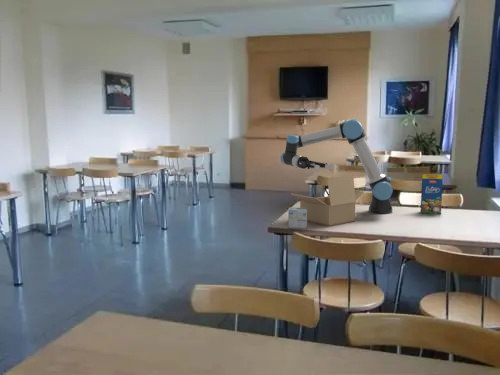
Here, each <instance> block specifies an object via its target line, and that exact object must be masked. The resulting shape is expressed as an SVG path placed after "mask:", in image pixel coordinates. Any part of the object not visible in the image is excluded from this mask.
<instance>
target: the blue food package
mask: <svg viewBox="0 0 500 375" xmlns="http://www.w3.org/2000/svg"><path fill="white" fill-rule="evenodd" d="M421 180H422V181H421V193H420V194H421V196H420V213H421V214H430V215H431V214H432V215H442V204H443V203H442V200H443V174H427V173H426V174H424V173H423V174H422V178H421Z"/></svg>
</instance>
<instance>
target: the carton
mask: <svg viewBox="0 0 500 375" xmlns="http://www.w3.org/2000/svg"><path fill="white" fill-rule="evenodd" d="M364 193H365V191H363V190H357V189H356V190H355V197H356V201H357V200H358V199H359V198H360V197H361V196H363V194H364ZM290 195H291V196H293V197H295V198H297V199H298V201H300V203H299V204H300V205H299V206H300V207H299V208H307V223H313V224H317V225H321V226H325V227H328V228H329V227H333V226H338V225H339V226H340V225H344V224H349V223H355V221H356V202H352V203H346V204H340V205H333V206H330V199H329V195H327V196H321V197H315V196H314V197H312V196H308V195H303V194H297V193H293V192H291V193H290Z"/></svg>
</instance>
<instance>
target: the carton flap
mask: <svg viewBox="0 0 500 375" xmlns="http://www.w3.org/2000/svg"><path fill="white" fill-rule="evenodd" d="M326 178H327V186H328V189H327V191H328V193H329V199H330V206H333V205H340V204H346V203H352V202H355V203H356V202H357V200H356V197H355V181H354V175H353V174H351V175H342V176H341V175H340V176H334V177H332V176H331V177H326Z"/></svg>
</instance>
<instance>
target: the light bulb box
mask: <svg viewBox="0 0 500 375" xmlns="http://www.w3.org/2000/svg"><path fill="white" fill-rule="evenodd" d="M287 213H288V214H287V215H288V218H287V220H288V221H287V222H288V223H287V224H288V229H307V228H308V221H307V208H300V207H288V211H287Z"/></svg>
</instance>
